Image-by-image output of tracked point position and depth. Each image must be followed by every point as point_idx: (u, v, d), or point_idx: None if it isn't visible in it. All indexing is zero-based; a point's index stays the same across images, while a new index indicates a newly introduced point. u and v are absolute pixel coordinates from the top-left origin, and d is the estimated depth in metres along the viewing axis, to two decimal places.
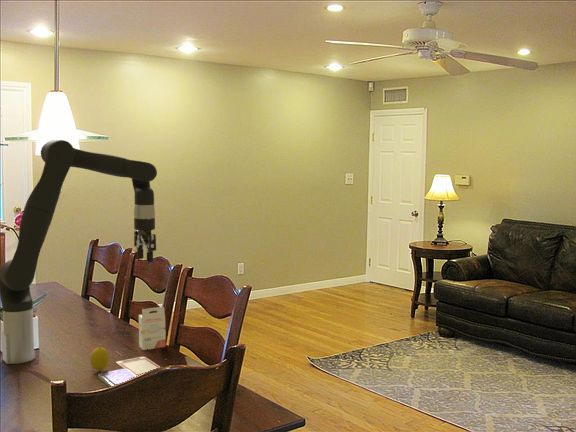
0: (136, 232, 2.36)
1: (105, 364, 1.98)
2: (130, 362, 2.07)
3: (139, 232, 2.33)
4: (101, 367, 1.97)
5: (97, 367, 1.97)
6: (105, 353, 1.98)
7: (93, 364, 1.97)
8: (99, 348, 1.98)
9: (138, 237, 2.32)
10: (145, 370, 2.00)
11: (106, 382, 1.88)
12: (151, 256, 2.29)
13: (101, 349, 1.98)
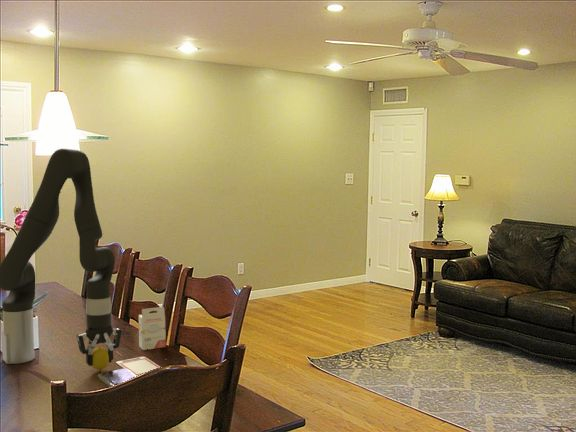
0: None
1: (105, 364, 1.98)
2: (130, 362, 2.07)
3: (92, 331, 1.96)
4: (101, 367, 1.97)
5: (97, 367, 1.97)
6: (105, 353, 1.98)
7: (93, 364, 1.97)
8: (99, 348, 1.98)
9: (98, 337, 1.96)
10: (145, 370, 2.00)
11: (106, 382, 1.88)
12: None
13: (101, 349, 1.98)
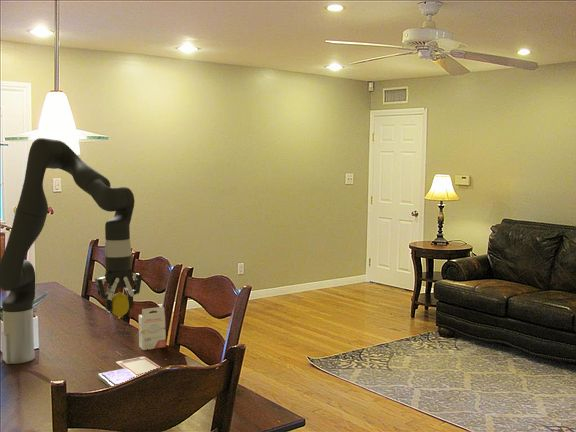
0: (101, 280, 1.84)
1: (125, 310, 1.88)
2: (130, 362, 2.07)
3: (112, 274, 1.86)
4: (121, 313, 1.87)
5: (117, 313, 1.87)
6: (125, 298, 1.88)
7: (113, 310, 1.87)
8: (119, 293, 1.88)
9: (117, 281, 1.86)
10: (145, 370, 2.00)
11: (106, 382, 1.88)
12: None
13: (121, 294, 1.88)
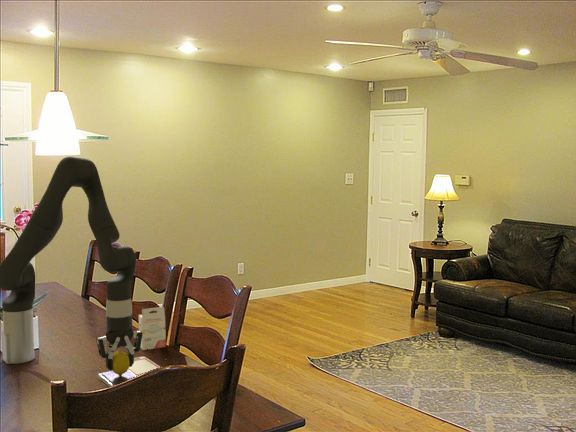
0: (102, 339, 1.86)
1: (126, 368, 1.89)
2: None
3: (113, 334, 1.87)
4: (122, 372, 1.89)
5: (117, 371, 1.88)
6: (126, 357, 1.89)
7: (113, 368, 1.88)
8: (119, 352, 1.89)
9: (118, 340, 1.87)
10: (145, 370, 2.00)
11: (106, 382, 1.88)
12: None
13: (122, 353, 1.89)
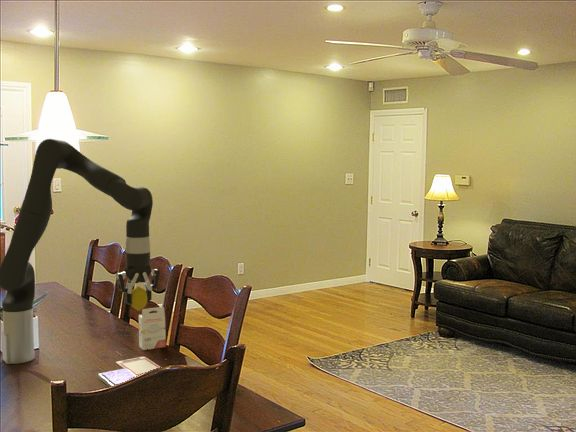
0: (121, 274, 1.95)
1: (144, 303, 1.99)
2: (130, 362, 2.07)
3: (132, 270, 1.97)
4: (140, 306, 1.98)
5: (136, 306, 1.98)
6: (144, 292, 1.99)
7: (132, 303, 1.98)
8: (138, 287, 1.99)
9: (137, 276, 1.97)
10: (145, 370, 2.00)
11: (106, 382, 1.88)
12: None
13: (140, 288, 1.99)
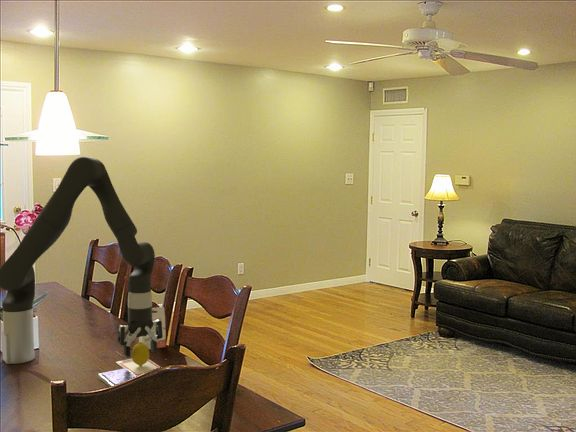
0: None
1: (146, 359, 2.02)
2: (130, 362, 2.07)
3: (135, 325, 2.00)
4: (142, 362, 2.01)
5: (138, 362, 2.01)
6: (146, 348, 2.02)
7: (134, 359, 2.01)
8: (140, 343, 2.02)
9: (139, 330, 2.00)
10: (145, 370, 2.00)
11: (106, 382, 1.88)
12: None
13: (142, 344, 2.02)
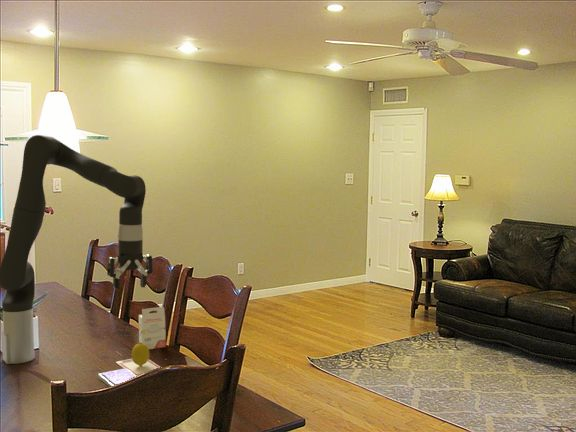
0: None
1: (146, 359, 2.02)
2: (130, 362, 2.07)
3: (125, 257, 1.99)
4: (142, 362, 2.01)
5: (138, 362, 2.01)
6: (146, 349, 2.02)
7: (134, 359, 2.01)
8: (140, 344, 2.02)
9: (129, 263, 1.99)
10: (145, 370, 2.00)
11: (106, 382, 1.88)
12: None
13: (142, 345, 2.02)
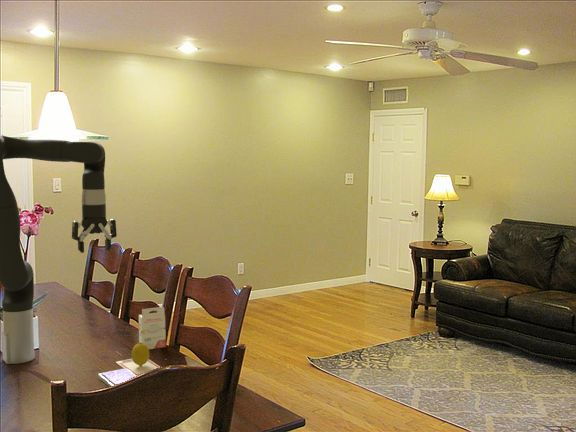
0: (77, 223, 2.04)
1: (146, 359, 2.02)
2: (130, 362, 2.07)
3: (88, 221, 2.06)
4: (142, 362, 2.01)
5: (138, 362, 2.01)
6: (146, 349, 2.02)
7: (134, 359, 2.01)
8: (140, 344, 2.02)
9: (92, 226, 2.06)
10: (145, 370, 2.00)
11: (106, 382, 1.88)
12: None
13: (142, 345, 2.02)
